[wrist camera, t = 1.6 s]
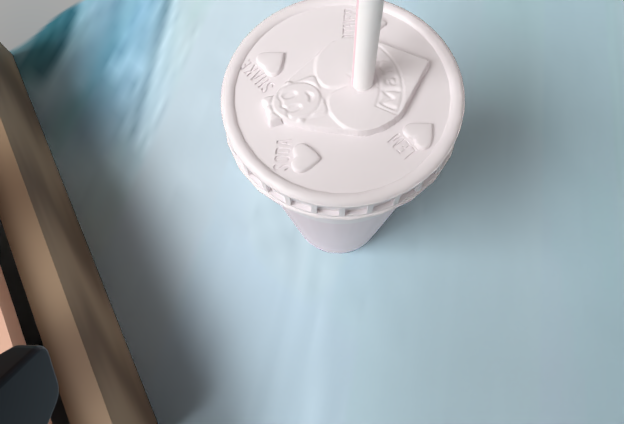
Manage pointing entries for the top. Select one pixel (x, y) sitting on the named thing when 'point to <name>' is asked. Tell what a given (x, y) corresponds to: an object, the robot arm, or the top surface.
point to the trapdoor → (20, 341)
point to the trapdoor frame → (61, 272)
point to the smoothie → (342, 114)
